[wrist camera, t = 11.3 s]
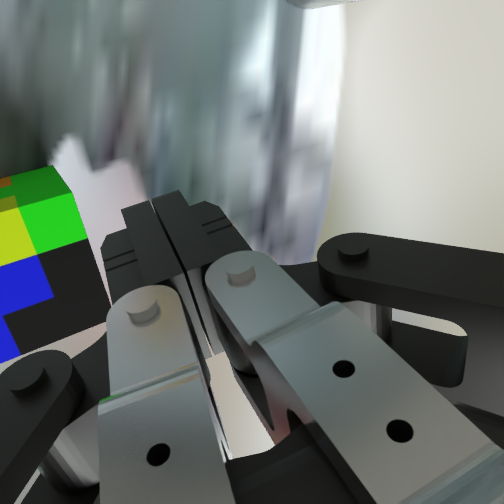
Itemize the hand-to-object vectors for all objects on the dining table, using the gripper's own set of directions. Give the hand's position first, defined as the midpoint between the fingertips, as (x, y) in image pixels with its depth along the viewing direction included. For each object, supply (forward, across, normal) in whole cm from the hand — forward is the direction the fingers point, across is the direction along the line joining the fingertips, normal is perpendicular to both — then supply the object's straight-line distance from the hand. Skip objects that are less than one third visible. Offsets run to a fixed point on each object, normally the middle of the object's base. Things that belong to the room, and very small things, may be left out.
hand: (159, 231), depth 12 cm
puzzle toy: (+28, +10, +11) cm, 32 cm away
